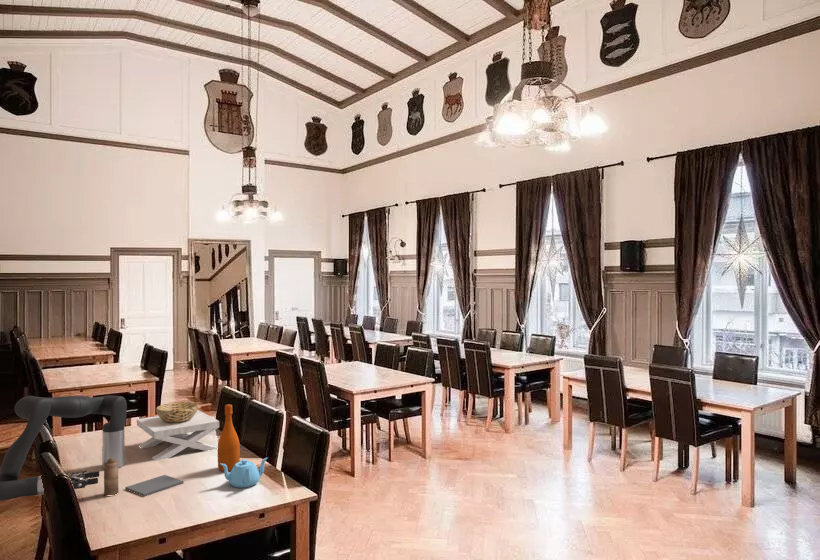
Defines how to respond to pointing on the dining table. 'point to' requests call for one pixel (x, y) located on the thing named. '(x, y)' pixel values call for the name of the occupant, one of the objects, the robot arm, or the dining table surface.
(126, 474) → the dining table surface
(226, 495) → the dining table surface
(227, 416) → the wine bottle
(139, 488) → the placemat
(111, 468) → the pepper mill
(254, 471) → the teapot
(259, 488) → the dining table surface
